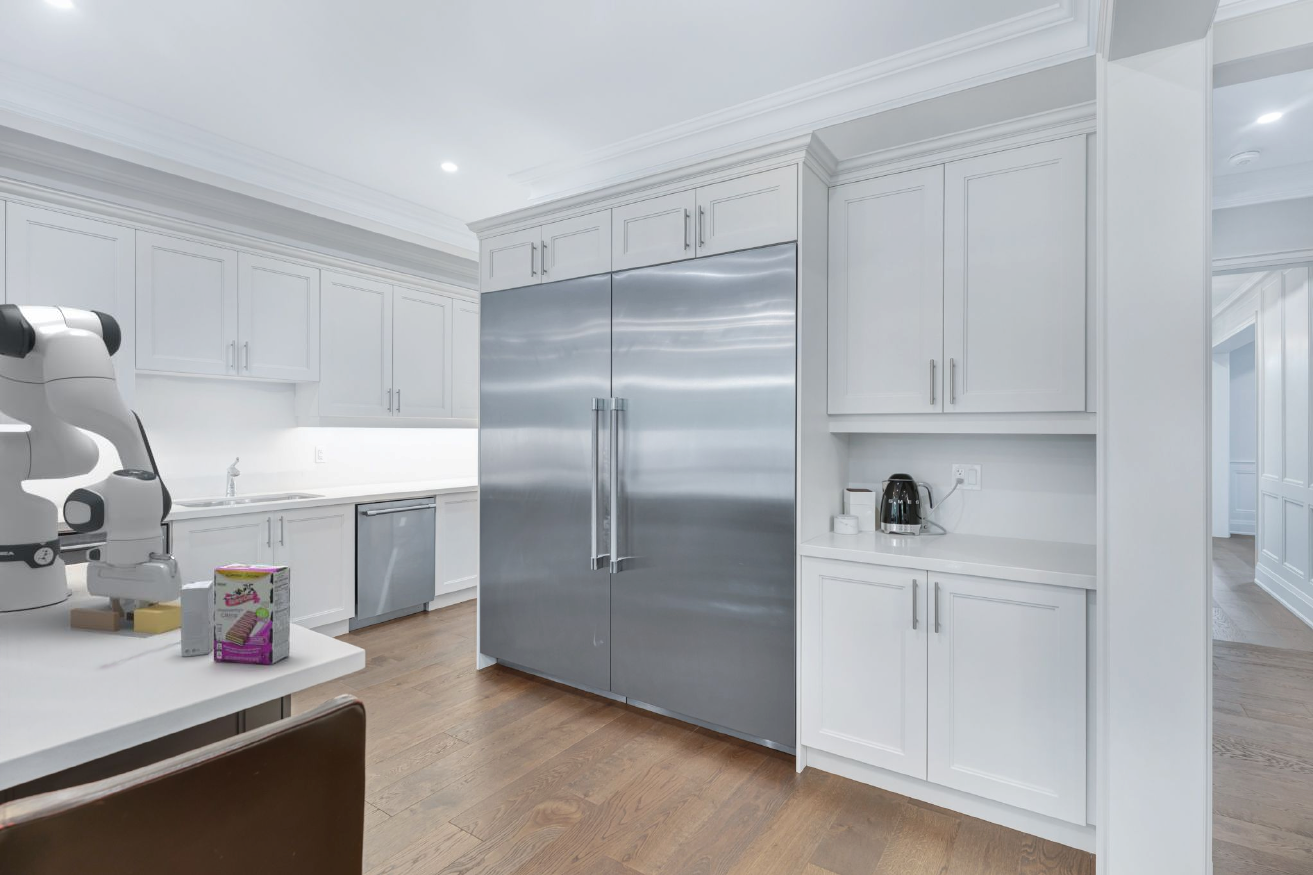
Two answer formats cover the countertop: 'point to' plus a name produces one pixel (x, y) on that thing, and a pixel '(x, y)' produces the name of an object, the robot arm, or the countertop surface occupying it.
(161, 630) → the ochre block
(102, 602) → the countertop surface
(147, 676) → the countertop surface
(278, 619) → the candy bar box
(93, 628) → the chute
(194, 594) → the skincare box
